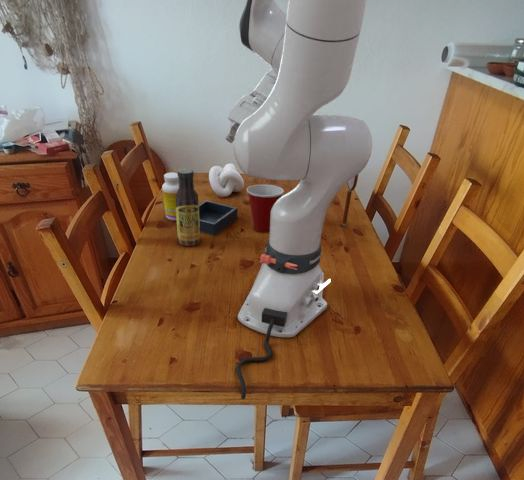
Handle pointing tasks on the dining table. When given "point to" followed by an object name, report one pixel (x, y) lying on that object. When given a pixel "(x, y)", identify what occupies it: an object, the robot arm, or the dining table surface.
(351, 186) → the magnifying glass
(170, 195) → the supplement bottle
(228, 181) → the white knot sculpture
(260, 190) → the plastic cup
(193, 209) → the sauce bottle
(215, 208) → the tray
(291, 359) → the dining table surface
